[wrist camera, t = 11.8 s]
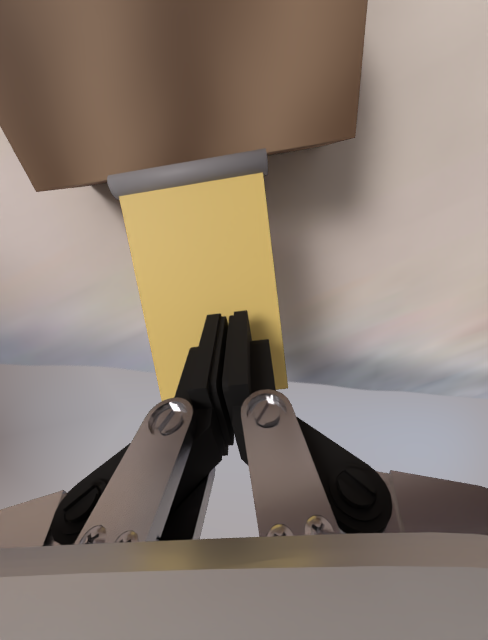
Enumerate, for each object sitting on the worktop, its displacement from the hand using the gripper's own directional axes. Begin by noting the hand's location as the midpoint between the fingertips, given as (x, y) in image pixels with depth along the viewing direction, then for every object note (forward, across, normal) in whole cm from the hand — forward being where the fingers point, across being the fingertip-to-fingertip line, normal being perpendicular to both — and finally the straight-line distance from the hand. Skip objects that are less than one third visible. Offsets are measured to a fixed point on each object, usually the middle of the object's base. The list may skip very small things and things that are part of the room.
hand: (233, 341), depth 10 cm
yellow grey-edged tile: (+2, +1, -2) cm, 3 cm away
